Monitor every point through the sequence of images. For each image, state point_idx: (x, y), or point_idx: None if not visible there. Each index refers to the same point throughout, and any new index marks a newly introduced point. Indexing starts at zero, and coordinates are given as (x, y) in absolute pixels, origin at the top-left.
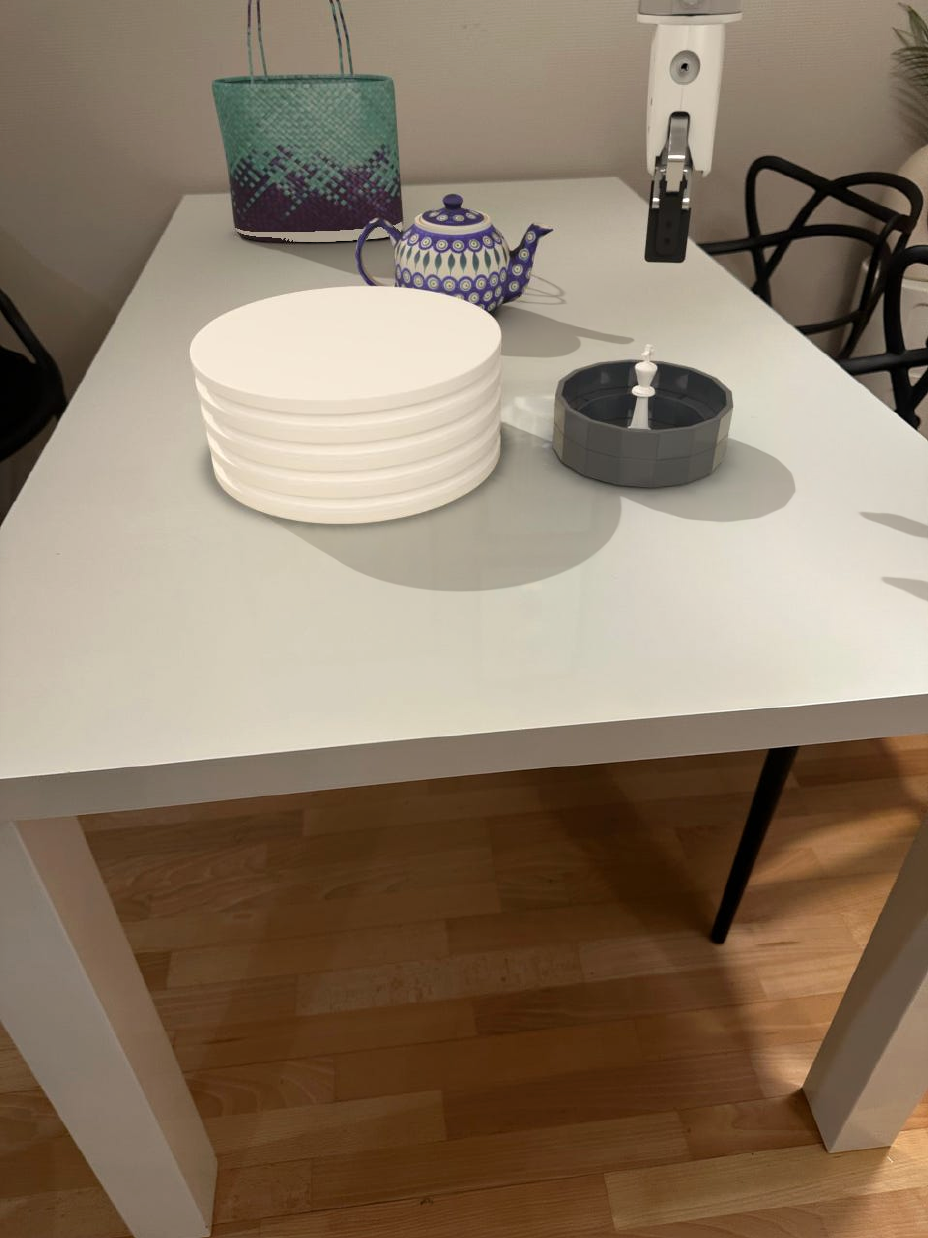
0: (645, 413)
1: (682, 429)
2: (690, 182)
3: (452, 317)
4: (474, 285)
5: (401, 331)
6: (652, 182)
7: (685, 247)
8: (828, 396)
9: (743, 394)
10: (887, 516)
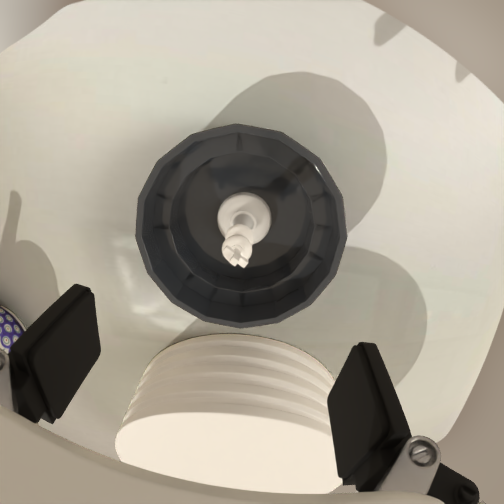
0: (248, 226)
1: (343, 211)
2: (424, 494)
3: (183, 436)
4: (10, 345)
5: (223, 461)
6: (54, 421)
7: (383, 363)
8: (125, 9)
9: (112, 86)
10: (375, 27)
